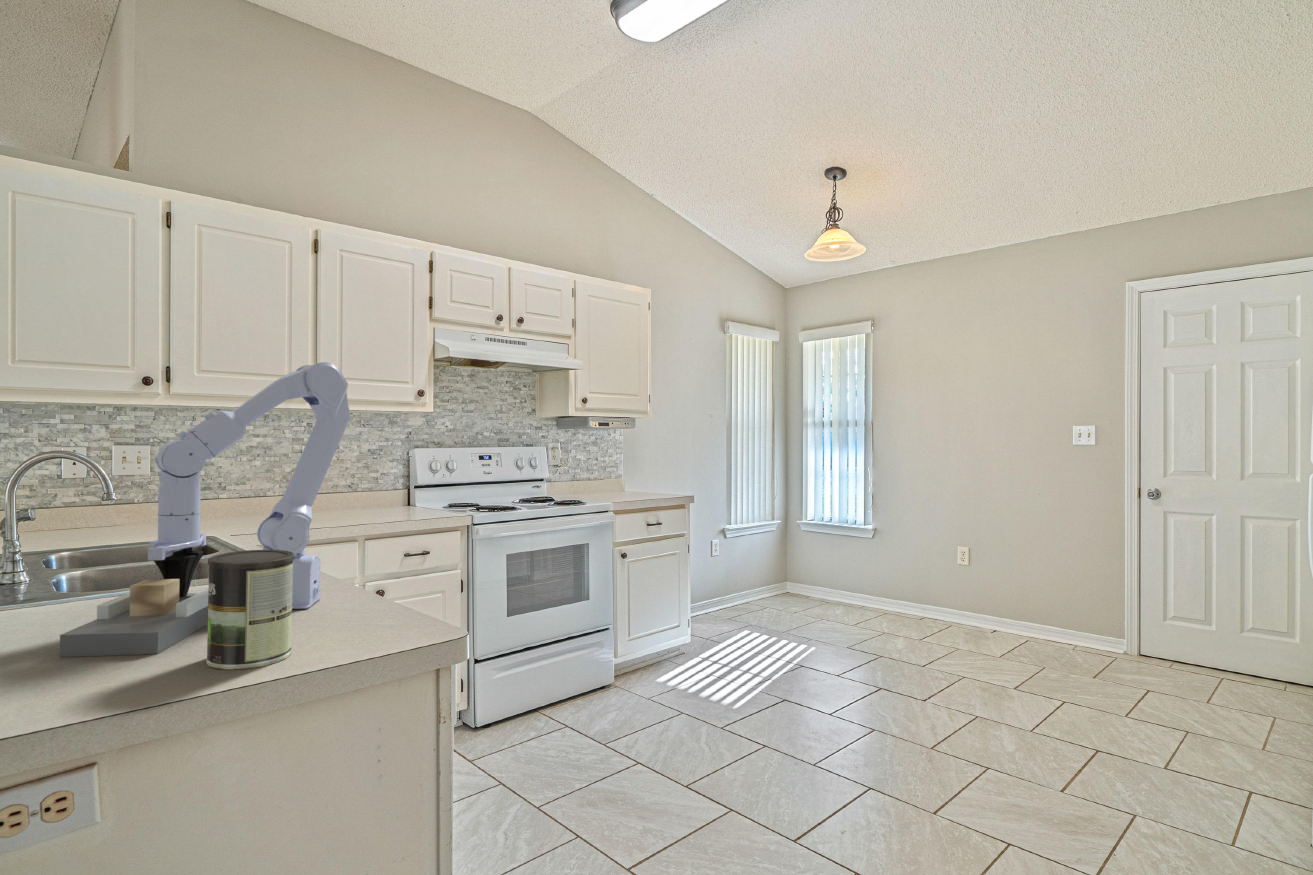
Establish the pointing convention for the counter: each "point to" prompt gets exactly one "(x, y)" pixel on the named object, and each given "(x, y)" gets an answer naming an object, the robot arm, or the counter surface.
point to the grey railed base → (135, 628)
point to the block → (154, 597)
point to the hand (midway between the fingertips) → (178, 596)
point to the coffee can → (249, 608)
